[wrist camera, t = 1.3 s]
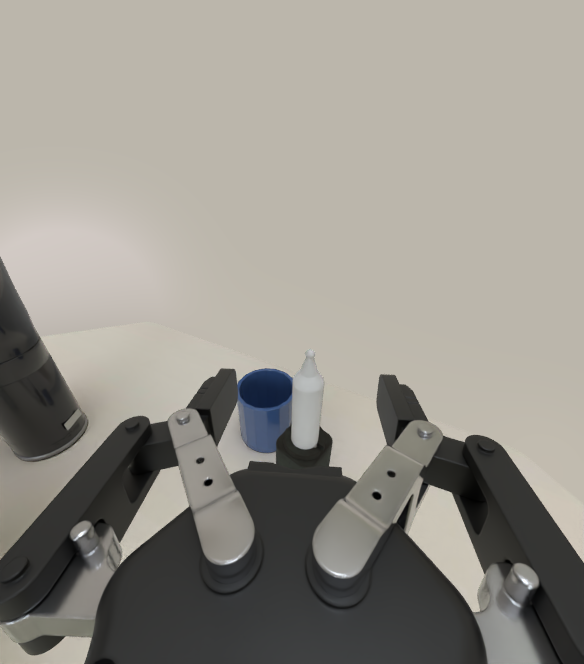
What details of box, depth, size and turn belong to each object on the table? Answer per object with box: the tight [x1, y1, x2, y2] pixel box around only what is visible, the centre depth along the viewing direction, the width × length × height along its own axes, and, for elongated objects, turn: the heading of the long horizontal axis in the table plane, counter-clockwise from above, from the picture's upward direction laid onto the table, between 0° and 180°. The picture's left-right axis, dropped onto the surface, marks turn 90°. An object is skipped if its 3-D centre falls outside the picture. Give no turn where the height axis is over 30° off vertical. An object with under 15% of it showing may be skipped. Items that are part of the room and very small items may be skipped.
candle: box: [276, 349, 332, 469], centre depth 30 cm, size 5×5×25 cm
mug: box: [237, 368, 293, 453], centre depth 45 cm, size 12×9×10 cm
